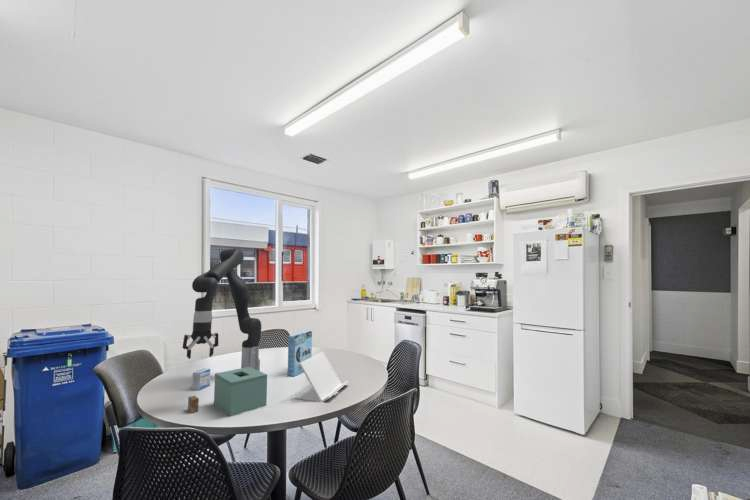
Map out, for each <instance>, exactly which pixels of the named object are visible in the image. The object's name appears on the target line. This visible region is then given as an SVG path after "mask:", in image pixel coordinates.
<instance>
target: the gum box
mask: <svg viewBox="0 0 750 500" xmlns="http://www.w3.org/2000/svg"><path fill="white" fill-rule="evenodd" d="M312 336H313V331H311V330H306V331H301V332H298V333H293V334H291V335H288V339H287V340H288V343H287V345H288V346H287V347H288V348H287V349H288V352H287V376H288V377H289V376H290V377H296V376H298V375H300V374H301V373H304V372H303V370H302V368H301V366H300V363H301V362H303V361H305V360H307V359H309V358H311V357H313V356H312V353H313V352H312V351H313V345H312V344H313V343H312V342H313V341H312V340H313V337H312Z"/></svg>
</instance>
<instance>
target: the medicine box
mask: <svg viewBox="0 0 750 500" xmlns="http://www.w3.org/2000/svg"><path fill="white" fill-rule="evenodd" d="M191 386H192V387H191V388H192V390H193V391H201V390H203V389H205V388H207V387H209V386H211V368H202V369H199V370H196V371H194V372H192V385H191Z"/></svg>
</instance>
